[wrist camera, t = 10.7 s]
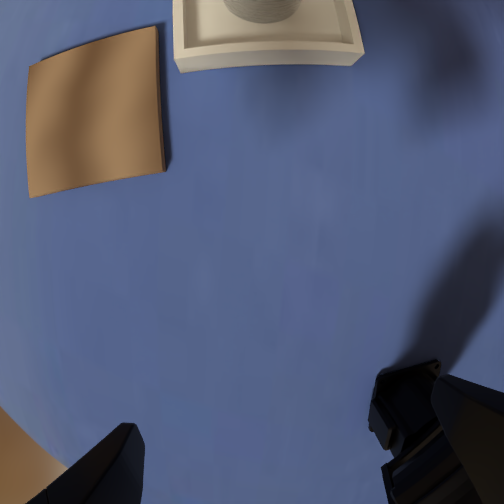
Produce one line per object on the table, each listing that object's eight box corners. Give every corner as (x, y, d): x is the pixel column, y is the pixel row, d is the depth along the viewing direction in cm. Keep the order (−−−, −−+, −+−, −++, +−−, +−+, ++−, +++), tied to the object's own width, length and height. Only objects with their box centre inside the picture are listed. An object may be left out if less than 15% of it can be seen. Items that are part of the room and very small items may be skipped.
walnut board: (158, 32, 16) (155, 25, 15) (166, 171, 19) (162, 171, 18) (35, 69, 16) (29, 66, 15) (37, 197, 18) (29, 197, 17)
